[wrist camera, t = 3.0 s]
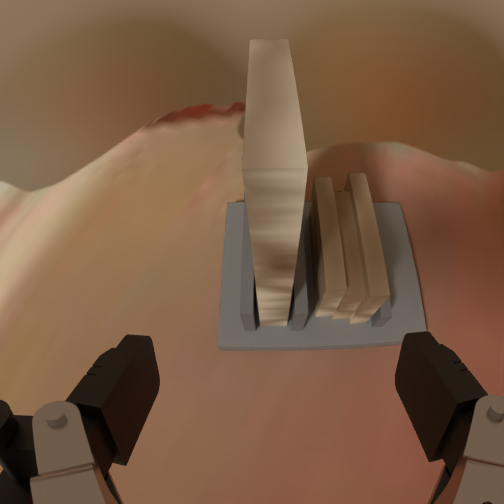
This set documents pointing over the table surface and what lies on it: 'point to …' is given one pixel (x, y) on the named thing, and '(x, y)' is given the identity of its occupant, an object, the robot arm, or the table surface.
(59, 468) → the robot arm
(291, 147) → the birch panel
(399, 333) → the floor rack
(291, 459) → the table surface
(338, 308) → the pine offcuts
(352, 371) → the table surface
